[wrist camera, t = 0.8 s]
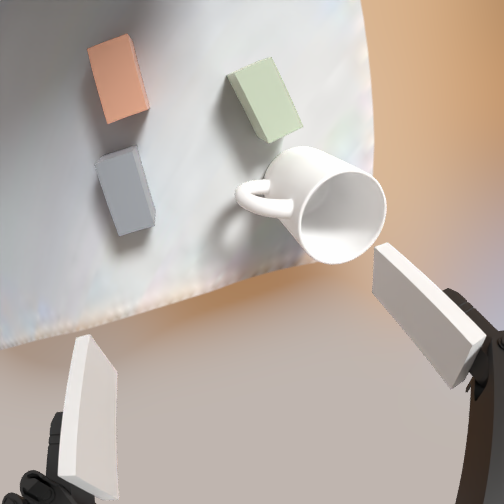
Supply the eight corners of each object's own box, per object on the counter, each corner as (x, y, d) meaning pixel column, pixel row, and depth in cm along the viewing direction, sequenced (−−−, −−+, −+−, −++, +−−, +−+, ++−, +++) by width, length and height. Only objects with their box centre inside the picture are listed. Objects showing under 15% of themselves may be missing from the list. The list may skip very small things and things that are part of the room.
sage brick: (226, 75, 26) (234, 72, 23) (258, 60, 26) (271, 57, 23) (257, 137, 30) (269, 143, 27) (287, 122, 30) (303, 126, 27)
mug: (222, 217, 33) (244, 268, 24) (228, 138, 29) (256, 161, 21) (325, 218, 36) (373, 262, 28) (338, 148, 33) (396, 175, 24)
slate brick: (103, 155, 27) (94, 164, 24) (136, 144, 28) (132, 151, 24) (123, 219, 31) (118, 236, 27) (155, 210, 31) (154, 225, 28)
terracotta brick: (97, 53, 22) (86, 48, 19) (132, 40, 23) (127, 33, 19) (115, 120, 26) (107, 124, 22) (150, 107, 26) (147, 109, 23)
